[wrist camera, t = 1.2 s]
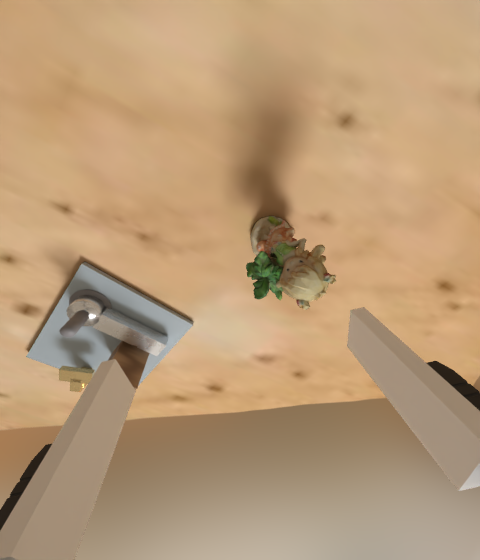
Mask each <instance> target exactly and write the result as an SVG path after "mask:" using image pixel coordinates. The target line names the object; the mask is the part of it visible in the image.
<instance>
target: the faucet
mask: <svg viewBox="0 0 480 560" xmlns="http://www.w3.org/2000/svg"><path fill="white" fill-rule="evenodd" d="M78 311H84V312H86V313H87V314H88V315H89V319H88V320H87V321H86V322H85V324H84V325H83V326H93V325H94V326H93V328H95V329H97V330H99V331H102V332H104V333H106V334H108V335H111V336H113V337H115V338H117V339H119V340H122V341H124V342H126V343H128V344H131V345H133V346H135V347H137V348H139V349H142V350H144V351H146V352H148V353H151V354H153V355H155V356H158V355H159V353H160V352H161V351H162V350H163V349H164V348H165V347H166V345H167V342H168V338H169V337H167V336H165V335H163V334H161V333H159V332H157V331H155V330H153V329H151V328H149V327H147V326H145V325H143V324H141V323H139V322H137V321H135V320H133V319H131V318H129V317H127V316H125V315H123V314H121V313H119V312H117V311H115V310H113V309H111V308H109V307H107V308H106V307H105V305H104V303H103V302H102V301H101V300H100V299H99V298H97V297H95V296H91V295H82V296H80V297H78V298H77V299H76V300H75V301H74V302H73V303H71V304H70V305H69V306H68V308H67V316H68V317H69V319H70V318H71V317H72V316H73V315H74V314H75V313H76V312H78Z"/></svg>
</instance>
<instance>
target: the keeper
mask: <svg viewBox="0 0 480 560" xmlns="http://www.w3.org/2000/svg"><path fill="white" fill-rule="evenodd" d="M94 374H95V370H93V368H88V367H81V368H78V367H70V366H62V367H61V368H60V369H59V380H60V381H69V382H70V391H75V392H81V391H82V389H84V387H85V386H86V384H89V382H90V380H91V379H92V377H93V375H94Z"/></svg>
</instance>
